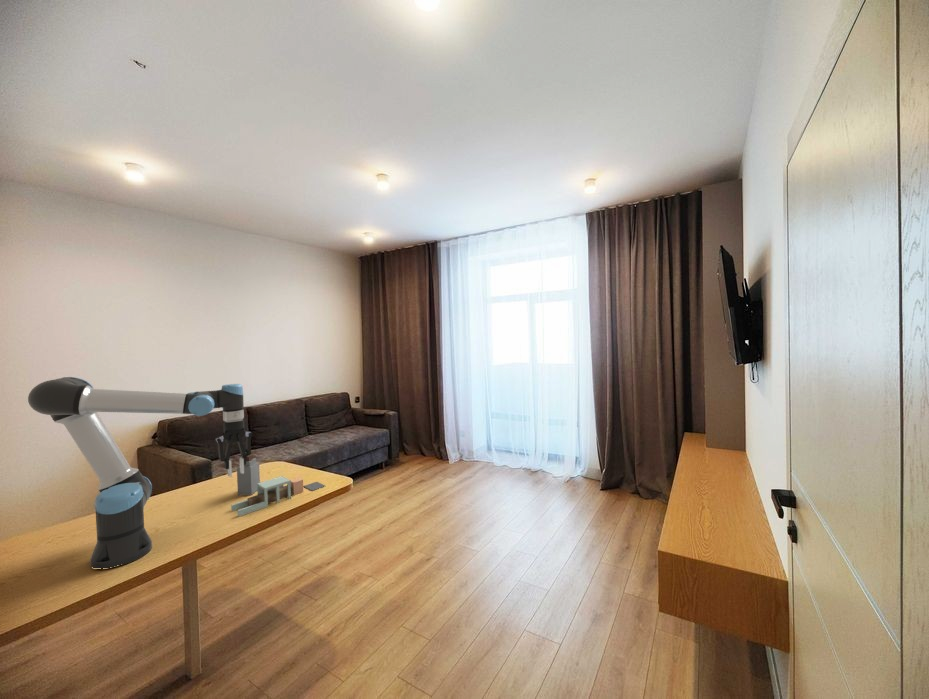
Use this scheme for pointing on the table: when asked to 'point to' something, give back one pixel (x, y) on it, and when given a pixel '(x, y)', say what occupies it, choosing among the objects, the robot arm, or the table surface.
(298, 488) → the block
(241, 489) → the perfume bottle
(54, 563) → the table surface
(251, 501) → the rod
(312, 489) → the trap mat
